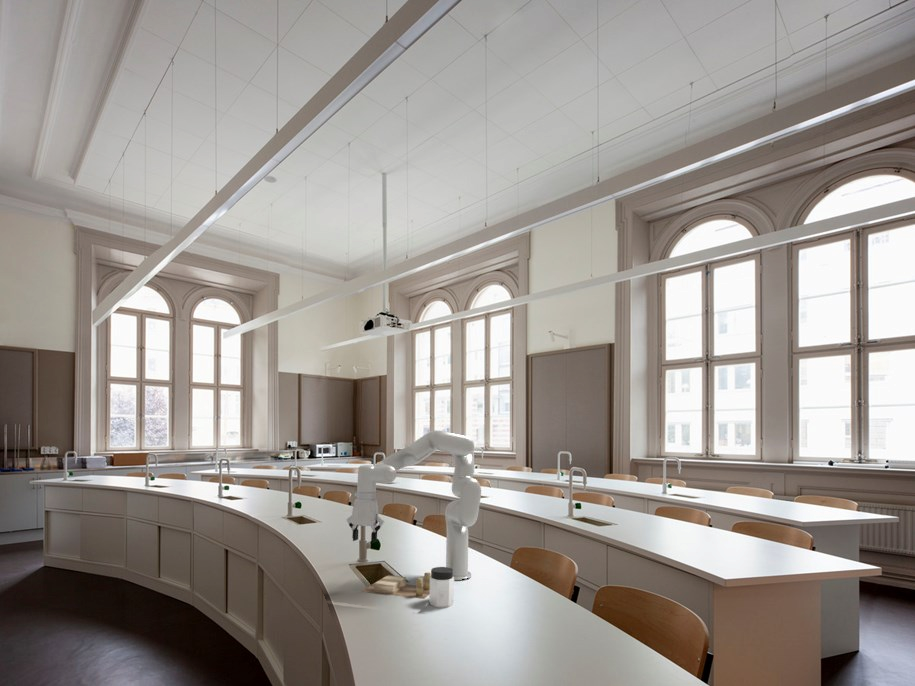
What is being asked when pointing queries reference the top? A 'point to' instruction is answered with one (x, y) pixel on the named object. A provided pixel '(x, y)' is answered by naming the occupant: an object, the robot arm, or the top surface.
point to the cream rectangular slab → (389, 584)
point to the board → (410, 588)
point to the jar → (441, 587)
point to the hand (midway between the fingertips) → (364, 540)
